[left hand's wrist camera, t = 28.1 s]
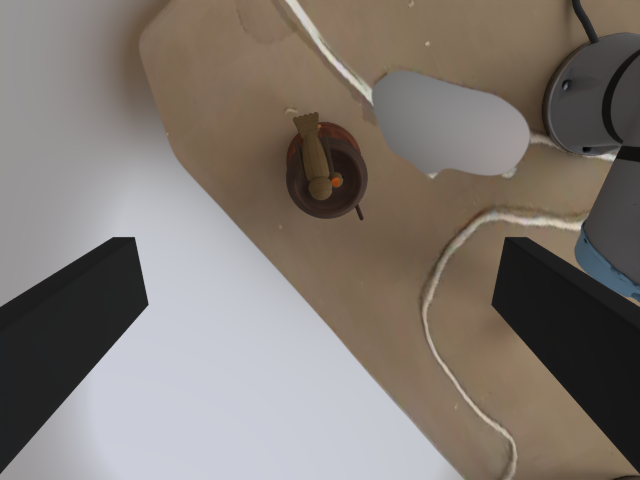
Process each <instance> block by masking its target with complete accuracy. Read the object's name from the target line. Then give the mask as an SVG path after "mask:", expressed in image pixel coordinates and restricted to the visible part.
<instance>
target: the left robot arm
mask: <svg viewBox="0 0 640 480" xmlns="http://www.w3.org/2000/svg"><path fill="white" fill-rule="evenodd" d="M572 5H573V8H574V11H575V13H576V15H577V17H578V18H579V20H580V21H581V23H582V25H583V27H584V29H585V31H586V33H587V35H588V37H589V40H590V42H588V43H586V44H584V45H582V46H581V47H579V48H577V49H576V50H575V51H574V52H572V53H571V54H570V55H569V56H568V57H567V58H566V59H565V60H564V61H563V62H562V63H561V64H560V66H559V67H558V68H557V70H556V71H555V73H554V74H553V76H552V78H551V80H550V82H549V84H548V86H547V89H546V92H545V95H544V99H543V106H542V116H543V123H544V126H545V129H546V132H547V134H548V135H549V137H550V138H551V140H552V141H553V142H554V143H555V144H556V145H557V146H558V147H560V148H562V149H563V150H565V151H568V152H571V153H575V154H581V155H588V156H596V155H603V154H608V153H612V152H616V151H619V152H618V154H617V156H616V158H615V160H614V162H613V164H612V166H611V169H610V171H609V173H608V175H607V177H606V179H605V182H604V184H603V186H602V188H601V190H600V192H599V194H598V197H597V199H596V201H595V203H594V205H593V207H592V209H591V212H590V214H589V216H588V218H587V219H586V220H585V221H584V222H583V223H582V225H581V233H580V236H579V238H578V241H577V243H576V246H575V250H574V251H575V258H576V261H577V262H578V264H579V265H580V267H581V268H582V269H583V270H584V271H585V272H586V273H588V274H589V275H590V276H591V277H590V276H589V275H587V274H586V273H584V272H582V271H581V270H579V269H577V268H576V267H574V266H573V265H571V264H569V263H568V262H566V261H565V260H563V259H561V258H560V257H558V256H556V255H555V254H553V253H552V252H550V251H548V250H547V249H545V248H544V247H542V246H540V245H539V244H537V243H535V242H534V241H532V240H531V239H529V238H527V237H505V241H504V246H503V251H502V256H501V260H500V265H499V270H498V275H497V280H496V285H495V290H494V294H493V299H492V304H491V305H492V306H493V307H494V308H495V309H496V311H497V312H498V313H499V314H500V315H501V316H502V317H503V318H504V320H505V321H506V322H507V323H508V324H509V325H510V326H511V328H512V329H513V330H514V331H515V332H516V333H517V334H518V336H519V337H520V338H521V339H522V340H523V341H524V342H525V344H526V345H527V346H528V347H529V348H530V349H531V350H532V352H533V353H534V354H535V355H536V356H537V357H538V358H539V360H540V361H541V362H542V363H543V364H544V365H545V366H546V368H547V369H548V370H549V371H550V372H551V373H552V374H553V376H554V377H555V378H556V379H557V380H558V381H559V382H560V384H561V385H562V386H563V387H564V388H565V389H566V390H567V392H568V393H569V394H570V395H571V396H572V397H573V398H574V399H575V401H576V402H577V403H578V404H579V405H580V406H581V407H582V409H583V410H584V411H585V412H586V413H587V414H588V415H589V417H590V418H591V419H592V420H593V421H594V422H595V423H596V425H597V426H598V427H599V428H600V429H601V430H602V431H603V433H604V434H605V435H606V436H607V437H608V438H609V439H610V441H611V442H612V443H613V444H614V445H615V446H616V447H617V449H618V450H619V451H620V452H621V453H622V454H623V455H624V457H625V458H626V459H627V460H628V461H629V462H630V463H631V465H632V466H633V467H634V468H635V469H636V470H637V471H638V473H639V474H640V307H639V306H637V305H636V304H634V303H632V302H631V301H629V300H628V299H626V298H624V297H623V296H625V297H632V298H634V299H635V300H637V301H638V302H640V35H639V34H634V33H617V34H612V35H608V36H604V37H600V38H598V37H597V35H596V33H595V31H594V29H593V27H592V25H591V22H590V20H589V19H588V17H587V15H586V14H585V12H584V10H583V9H582V7H581V4H580V0H572ZM592 277H593V278H592ZM616 292H617V293H616ZM618 293H619V294H621V295H623V296H621V295H619V294H618ZM147 306H148V299H147V294H146V290H145V285H144V280H143V275H142V270H141V265H140V261H139V256H138V251H137V246H136V241H135V237H113V238H111V239H109V240H108V241H106V242H105V243H103V244H101V245H100V246H98V247H97V248H95V249H93V250H92V251H90V252H88V253H87V254H85V255H84V256H82V257H80V258H79V259H77V260H76V261H74V262H72V263H71V264H69V265H67V266H66V267H64V268H63V269H61V270H59V271H58V272H56V273H54V274H53V275H51V276H50V277H48V278H46V279H45V280H43V281H42V282H40V283H38V284H37V285H35V286H33V287H32V288H30V289H29V290H27V291H25V292H24V293H22V294H21V295H19V296H17V297H16V298H14V299H13V300H11V301H9V302H8V303H6V304H4V305H3V306H1V307H0V474H1V473H2V471H3V470H4V469H5V468H6V467H7V466H8V464H9V463H10V462H11V461H12V460H13V459H14V458H15V457H16V455H17V454H18V453H19V452H20V451H21V450H22V449H23V447H24V446H25V445H26V444H27V443H28V442H29V441H30V439H31V438H32V437H33V436H34V435H35V434H36V433H37V431H38V430H39V429H40V428H41V427H42V426H43V425H44V423H45V422H46V421H47V420H48V419H49V418H50V417H51V415H52V414H53V413H54V412H55V411H56V410H57V409H58V407H59V406H60V405H61V404H62V403H63V402H64V401H65V399H66V398H67V397H68V396H69V395H70V394H71V393H72V391H73V390H74V389H75V388H76V387H77V386H78V385H79V384H80V382H81V381H82V380H83V379H84V378H85V377H86V376H87V374H88V373H89V372H90V371H91V370H92V369H93V368H94V366H95V365H96V364H97V363H98V362H99V361H100V360H101V358H102V357H103V356H104V355H105V354H106V353H107V352H108V350H109V349H110V348H111V347H112V346H113V345H114V344H115V342H116V341H117V340H118V339H119V338H120V337H121V336H122V334H123V333H124V332H125V331H126V330H127V329H128V328H129V326H130V325H131V324H132V323H133V322H134V321H135V320H136V318H137V317H138V316H139V315H140V314H141V313H142V312H143V310H144V309H145V308H146V307H147Z"/></svg>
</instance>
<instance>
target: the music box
mask: <svg viewBox="0 0 640 480" xmlns="http://www.w3.org/2000/svg"><path fill="white" fill-rule="evenodd" d="M293 121H294V123H295V125H296V127H297V129H298V131H299V133H298V134H297V135H296V137H295V138H294V139H293V141H292V142H291V144H290V147H289V149H288V153H287V173H286V183H287V188H288V191H289V194H290V196H291V198H292V200H293V201H294V203H295V204H296V205H297V206H298V207H299V208H300V209H301V210H302V211H304V212H305V213H307V214H309V215H311V216H314V217H317V218H323V219H330V218H336V217H340V216H342V215H344V214H346V213H348V212H350V211H351V210H352V209H353V208H356V211H357V213H358V216H359V218H360V220H363V216H362V213H361V210H360V208H359V205H358V203H359V202H360V200H361V199H362V197H363V195H364V193H365V190H366V186H367V169H366V165H365V162H364V160H363V158H362V156H361V153H360V149H359V146H358V144H357V142H356V141H355V139H354V138H353V136H352V135H351V134H350V133H349V132H348V131H346V130H345V129H344V128H342V127H340V126H338V125H336V124H333V123H328V122H320V123H318V113H317V112H315V113H314V114H311V113H310V114H309V115H304V116H299V117H298V118H297V117H294V118H293Z"/></svg>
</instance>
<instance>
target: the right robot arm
mask: <svg viewBox="0 0 640 480" xmlns="http://www.w3.org/2000/svg"><path fill="white" fill-rule="evenodd" d="M616 480H640V476H630V477H623V478H619V479H616Z"/></svg>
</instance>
